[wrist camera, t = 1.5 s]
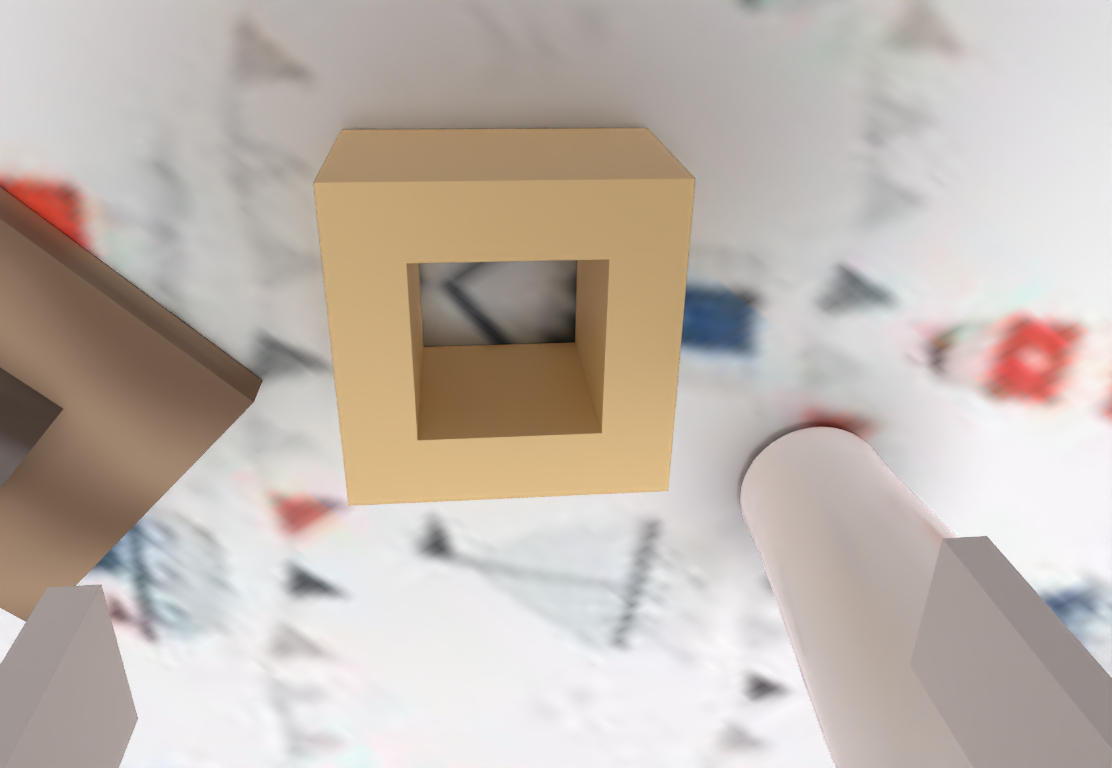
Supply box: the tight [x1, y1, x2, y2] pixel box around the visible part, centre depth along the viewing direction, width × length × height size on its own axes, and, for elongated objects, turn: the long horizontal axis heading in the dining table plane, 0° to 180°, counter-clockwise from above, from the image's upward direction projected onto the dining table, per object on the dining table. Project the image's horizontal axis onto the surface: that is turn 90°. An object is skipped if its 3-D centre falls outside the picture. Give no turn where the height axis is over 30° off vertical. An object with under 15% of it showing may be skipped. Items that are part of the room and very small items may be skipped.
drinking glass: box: [740, 427, 973, 768], centre depth 27 cm, size 7×7×15 cm
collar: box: [313, 128, 695, 506], centre depth 26 cm, size 9×9×6 cm
